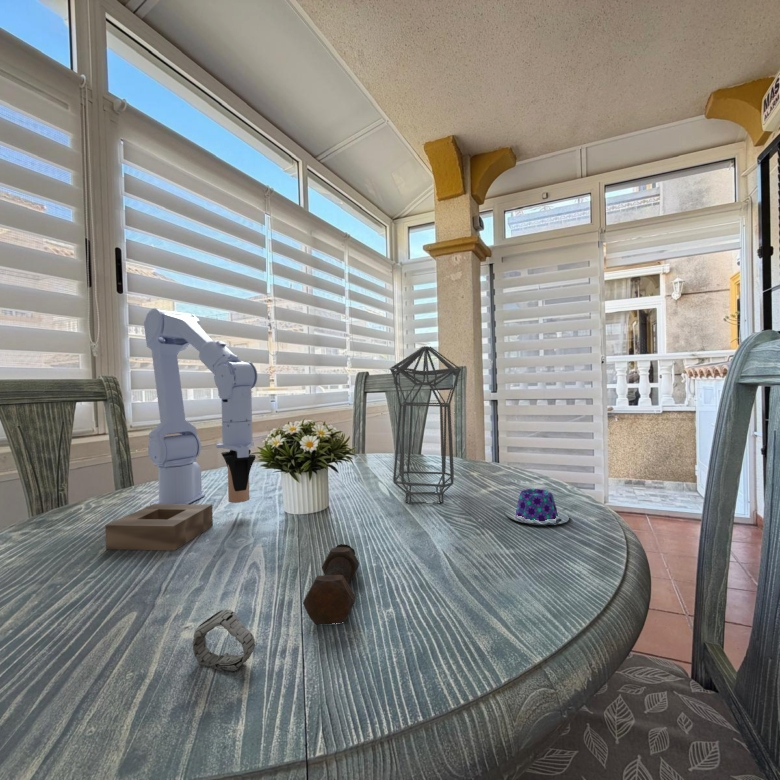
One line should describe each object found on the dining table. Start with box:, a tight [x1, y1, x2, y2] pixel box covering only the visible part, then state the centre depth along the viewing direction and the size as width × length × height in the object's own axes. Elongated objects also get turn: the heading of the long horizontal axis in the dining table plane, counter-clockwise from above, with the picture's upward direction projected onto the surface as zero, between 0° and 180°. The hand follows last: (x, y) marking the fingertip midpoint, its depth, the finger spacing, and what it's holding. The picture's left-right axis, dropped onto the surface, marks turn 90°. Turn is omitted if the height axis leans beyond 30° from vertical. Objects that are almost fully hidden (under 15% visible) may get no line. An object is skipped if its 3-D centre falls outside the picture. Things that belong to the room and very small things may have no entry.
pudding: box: [516, 488, 558, 521], centre depth 80 cm, size 12×12×5 cm
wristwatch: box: [192, 608, 256, 672], centre depth 40 cm, size 4×6×5 cm, turn 73°
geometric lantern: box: [388, 345, 462, 504], centre depth 95 cm, size 16×16×35 cm
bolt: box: [302, 543, 360, 625], centre depth 53 cm, size 6×5×15 cm
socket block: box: [104, 503, 214, 552], centre depth 74 cm, size 12×12×4 cm
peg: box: [227, 466, 250, 504], centre depth 84 cm, size 4×4×8 cm
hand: (238, 487), depth 84 cm, fingers closed on peg, 4 cm apart
